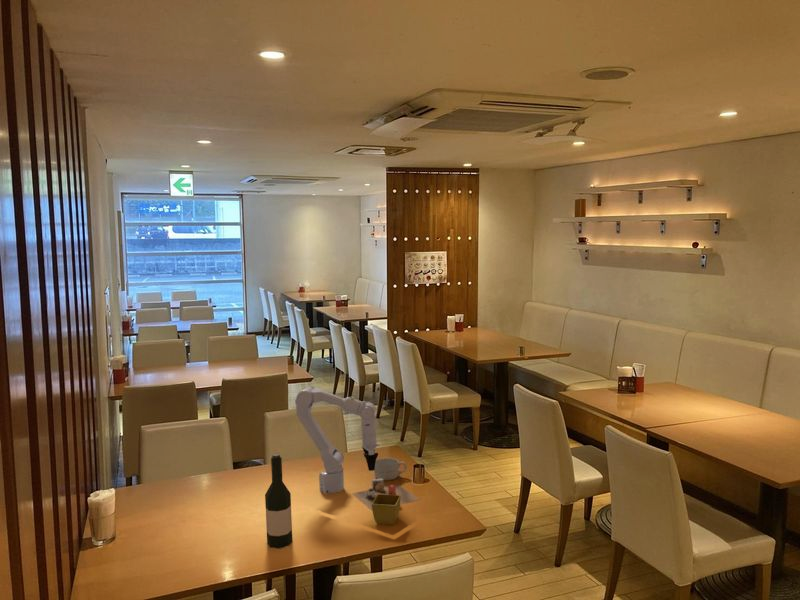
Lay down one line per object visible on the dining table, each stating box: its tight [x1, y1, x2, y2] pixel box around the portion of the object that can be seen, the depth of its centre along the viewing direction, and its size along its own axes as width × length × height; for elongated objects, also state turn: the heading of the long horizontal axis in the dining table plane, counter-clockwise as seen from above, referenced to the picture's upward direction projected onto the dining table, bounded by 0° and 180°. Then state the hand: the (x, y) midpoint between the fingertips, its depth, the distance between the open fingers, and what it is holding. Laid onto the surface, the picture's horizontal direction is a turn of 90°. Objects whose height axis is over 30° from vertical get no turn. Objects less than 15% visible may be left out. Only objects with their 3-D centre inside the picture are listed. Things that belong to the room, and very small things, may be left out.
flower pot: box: [371, 494, 401, 526], centre depth 213 cm, size 9×9×9 cm
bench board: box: [351, 483, 421, 512], centre depth 235 cm, size 20×19×1 cm
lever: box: [366, 484, 396, 498], centre depth 232 cm, size 13×3×6 cm, turn 57°
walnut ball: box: [375, 483, 385, 493], centre depth 239 cm, size 4×4×4 cm
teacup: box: [373, 457, 408, 482], centre depth 255 cm, size 14×11×8 cm
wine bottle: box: [264, 453, 293, 549], centre depth 201 cm, size 8×8×30 cm
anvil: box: [371, 478, 385, 491], centre depth 242 cm, size 4×2×4 cm, turn 108°
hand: (370, 466), depth 242 cm, fingers open, 7 cm apart
